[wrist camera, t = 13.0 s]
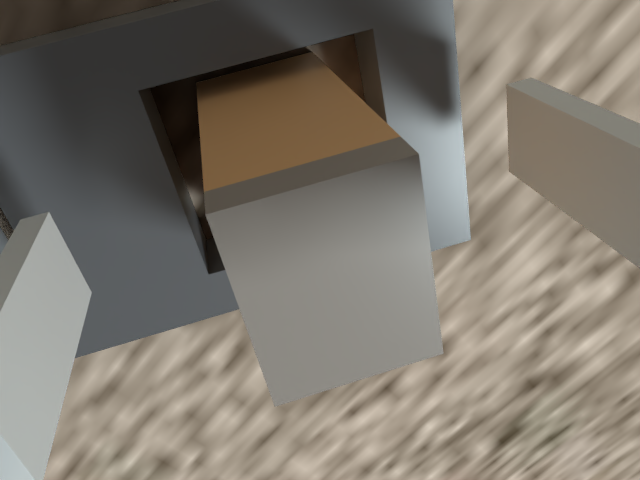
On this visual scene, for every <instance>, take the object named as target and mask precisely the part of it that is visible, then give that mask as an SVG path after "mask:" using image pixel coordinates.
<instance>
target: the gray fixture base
mask: <svg viewBox="0 0 640 480" xmlns="http://www.w3.org/2000/svg"><path fill="white" fill-rule="evenodd" d="M351 34H354V37H355V43H356V49H357V55H358V61H359V67H360V73H361V79H362V85H363V91H364V97H365V102H366V104H367V105H368V106H369V107H370V108H371V109H372V110H373V111H374V112H376V113H377V114H378V115H379V116H380V117H381V118H382V119H383V120H384V121H385V122H386V123H387V124H388V125H389V126H390V127H391V128H392V129H393V130H394V131H395V132H397V133H398V134H399V135H400V136H401V137H402V138H403V139H404V140H405V141H406V142H407V143H408V144H409V145H410V146H411V147H412V148H413V149H414V150H415V151H416V152H418V153H419V158H420V166H421V174H422V183H423V191H424V199H425V207H426V215H427V224H428V232H429V240H430V248H431V251H435V250H438V249H441V248H445V247H448V246H451V245H455V244H458V243H461V242H465V241H468V240H471V235H470V222H469V209H468V196H467V182H466V169H465V156H464V143H463V129H462V116H461V103H460V89H459V76H458V63H457V50H456V36H455V23H454V10H453V0H179V1H175V2H171V3H167V4H163V5H159V6H156V7H152V8H148V9H144V10H140V11H136V12H132V13H128V14H124V15H120V16H116V17H112V18H108V19H104V20H100V21H96V22H92V23H88V24H85V25H81V26H77V27H73V28H69V29H65V30H61V31H57V32H53V33H49V34H45V35H41V36H37V37H33V38H29V39H25V40H21V41H17V42H13V43H10V44H6V45H2V46H0V207H1V209H2V211H3V213H4V214H5V216H6V218H7V219H8V221H9V223H10V225H11V226H12V228H13V230H15V228H16V226H17V225H18V223H19V221H20V220H21V219H25V218H28V217H32V216H35V215H39V214H42V213H46V212H49V213H50V215H51V217H52V219H53V220H54V222H55V224H56V226H57V228H58V230H59V232H60V234H61V236H62V237H63V239H64V241H65V243H66V245H67V247H68V249H69V251H70V252H71V254H72V256H73V258H74V260H75V262H76V264H77V266H78V268H79V269H80V271H81V273H82V275H83V277H84V279H85V281H86V283H87V285H88V286H89V288H90V290H91V292H92V294H91V298H90V301H89V305H88V309H87V313H86V317H85V321H84V324H83V328H82V332H81V336H80V340H79V344H78V348H77V351H76V355H75V358H77V357H80V356H84V355H87V354H90V353H94V352H97V351H100V350H104V349H107V348H110V347H114V346H117V345H120V344H124V343H127V342H131V341H134V340H137V339H141V338H144V337H147V336H151V335H154V334H157V333H161V332H164V331H167V330H171V329H174V328H177V327H181V326H184V325H187V324H191V323H194V322H197V321H201V320H204V319H207V318H211V317H214V316H217V315H221V314H224V313H227V312H231V311H234V310H237V309H239V306H238V303H237V301H236V298H235V295H234V292H233V289H232V287H231V284H230V281H229V278H228V276H227V273H226V270H225V267H224V265H223V262H222V259H221V256H220V254H219V251H218V248H217V245H216V242H215V240H214V238H211V239H208V240H206V238H205V235H204V233H203V230H202V227H201V224H200V222H199V219H198V216H197V214H196V211H195V208H194V206H193V203H192V200H191V197H190V195H189V192H188V189H187V187H186V184H185V181H184V179H183V176H182V173H181V171H180V168H179V165H178V162H177V160H176V157H175V154H174V152H173V149H172V146H171V144H170V141H169V138H168V136H167V133H166V130H165V127H164V125H163V122H162V119H161V117H160V114H159V111H158V109H157V106H156V103H155V100H154V98H153V95H152V92H151V90H150V87H154V86H158V85H162V84H165V83H169V82H173V81H177V80H181V79H184V78H188V77H192V76H196V75H199V74H203V73H207V72H211V71H215V70H218V69H222V68H226V67H230V66H234V65H237V64H241V63H245V62H249V61H252V60H256V59H260V58H264V57H268V56H271V55H275V54H279V53H283V52H286V51H290V50H294V49H298V48H302V47H305V46H309V45H313V44H317V43H320V42H324V41H328V40H332V39H336V38H339V37H343V36H347V35H351ZM7 242H8V239H7V238H6V236H5V234H4V233H3V231H2V229H1V228H0V254H1V252H2V251H3V249H4V247H5V245H6V244H7Z"/></svg>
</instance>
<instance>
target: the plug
mask: <svg viewBox="0 0 640 480" xmlns="http://www.w3.org/2000/svg"><path fill="white" fill-rule="evenodd" d="M196 88H197V102H198V116H199V130H200V145H201V159H202V173H203V187H204V201H205V215H206V218H207V220H208V223H209V226H210V229H211V231H212V234H213V237H214V240H215V242H216V245H217V248H218V251H219V254H220V256H221V259H222V262H223V265H224V267H225V270H226V273H227V276H228V278H229V281H230V284H231V287H232V289H233V292H234V295H235V298H236V301H237V303H238V306H239V309H240V312H241V314H242V317H243V320H244V323H245V325H246V328H247V331H248V334H249V336H250V339H251V342H252V345H253V347H254V350H255V353H256V356H257V359H258V361H259V364H260V367H261V370H262V372H263V375H264V378H265V381H266V383H267V386H268V389H269V392H270V394H271V397H272V400H273V403H274V406H279V405H282V404H285V403H288V402H291V401H294V400H298V399H301V398H304V397H307V396H310V395H313V394H317V393H320V392H323V391H326V390H329V389H332V388H336V387H339V386H342V385H345V384H348V383H351V382H355V381H358V380H361V379H364V378H367V377H371V376H374V375H377V374H380V373H383V372H386V371H390V370H393V369H396V368H399V367H402V366H405V365H409V364H412V363H415V362H418V361H421V360H424V359H428V358H431V357H434V356H437V355H440V354H443V347H442V339H441V330H440V322H439V314H438V306H437V298H436V289H435V281H434V273H433V265H432V256H431V248H430V240H429V232H428V224H427V215H426V207H425V199H424V191H423V183H422V174H421V166H420V158H419V153H418V152H416V151H415V150H414V149H413V148H412V147H411V146H410V145H409V144H408V143H407V142H406V141H405V140H404V139H403V138H402V137H401V136H400V135H399V134H398V133H397V132H395V131H394V130H393V129H392V128H391V127H390V126H389V125H388V124H387V123H386V122H385V121H384V120H383V119H382V118H381V117H380V116H379V115H378V114H377V113H376V112H374V111H373V110H372V109H371V108H370V107H369V106H368V105H367V104H366V103H365V102H364V101H363V100H362V99H361V98H360V97H359V96H358V95H357V94H356V93H355V92H353V91H352V90H351V89H350V88H349V87H348V86H347V85H346V84H345V83H344V82H343V81H342V80H341V79H340V78H339V77H338V76H337V75H336V74H335V73H334V72H332V71H331V70H330V69H329V68H328V67H327V66H326V65H325V64H324V63H323V62H322V61H321V60H320V59H319V58H318V57H317V56H316V55H315V54H314V53H313V52H309V53H306V54H302V55H298V56H294V57H291V58H287V59H283V60H279V61H275V62H272V63H268V64H264V65H260V66H257V67H253V68H249V69H245V70H242V71H238V72H234V73H230V74H227V75H223V76H219V77H215V78H212V79H208V80H204V81H200V82H197V83H196Z"/></svg>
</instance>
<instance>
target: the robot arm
mask: <svg viewBox="0 0 640 480" xmlns="http://www.w3.org/2000/svg"><path fill="white" fill-rule="evenodd" d="M507 118H508V151H509V172H511V173H512V174H513V175H515V176H516V177H518V178H519V179H520V180H522V181H523V182H524V183H526V184H527V185H528V186H530V187H531V188H532V189H534V190H535V191H536V192H538V193H539V194H540V195H542V196H543V197H544V198H546V199H547V200H548V201H550V202H551V203H552V204H554V205H555V206H557V207H558V208H559V209H561V210H562V211H563V212H565V213H566V214H567V215H569V216H570V217H571V218H573V219H574V220H575V221H577V222H578V223H579V224H581V225H582V226H583V227H585V228H586V229H587V230H589V231H590V232H592V233H593V234H594V235H596V236H597V237H598V238H600V239H601V240H602V241H604V242H605V243H606V244H608V245H609V246H610V247H612V248H613V249H614V250H616V251H617V252H618V253H620V254H621V255H622V256H624V257H625V258H626V259H628V260H629V261H631V262H632V263H633V264H635V265H636V266H637V267H639V268H640V123H637V122H635V121H633V120H630V119H628V118H625V117H623V116H621V115H618V114H616V113H614V112H611V111H609V110H607V109H604V108H602V107H600V106H597V105H595V104H592V103H590V102H588V101H585V100H583V99H581V98H578V97H576V96H574V95H571V94H569V93H567V92H564V91H562V90H559V89H557V88H555V87H552V86H550V85H548V84H545V83H543V82H541V81H538V80H536V79H534V78H528V79H525V80H521V81H517V82H514V83H510V84H507ZM91 294H92V292H91V290H90V288H89V286H88V285H87V283H86V281H85V279H84V277H83V275H82V273H81V271H80V269H79V268H78V266H77V264H76V262H75V260H74V258H73V256H72V254H71V252H70V251H69V249H68V247H67V245H66V243H65V241H64V239H63V237H62V236H61V234H60V232H59V230H58V228H57V226H56V224H55V222H54V220H53V219H52V217H51V215H50V213H49V212H46V213H42V214H39V215H35V216H32V217H28V218H25V219H21V220H20V221H19V223H18V225H17V226H16V228H15V230H14V232H13V233H12V235H11V237H10V238H9V240H8V242H7V244H6V245H5V247H4V249H3V251H2V252H1V254H0V480H43V478H44V474H45V471H46V467H47V463H48V459H49V455H50V451H51V448H52V444H53V440H54V436H55V432H56V428H57V424H58V421H59V417H60V413H61V409H62V405H63V401H64V398H65V394H66V390H67V386H68V382H69V378H70V374H71V371H72V367H73V363H74V359H75V355H76V351H77V348H78V344H79V340H80V336H81V332H82V328H83V324H84V321H85V317H86V313H87V309H88V305H89V301H90V298H91Z"/></svg>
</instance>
